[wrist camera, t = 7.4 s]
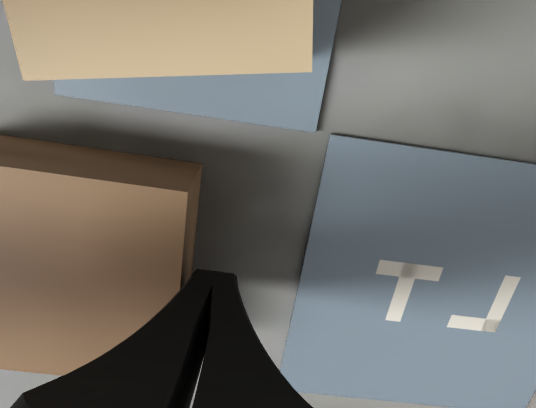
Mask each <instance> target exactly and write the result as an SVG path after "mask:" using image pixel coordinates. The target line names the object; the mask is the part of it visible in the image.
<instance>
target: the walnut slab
mask: <svg viewBox="0 0 536 408" xmlns="http://www.w3.org/2000/svg"><path fill="white" fill-rule="evenodd" d="M201 173H202V164H200V163H193V162H186V161H179V160H173V159H166V158H159V157H152V156H145V155H138V154H131V153H124V152H117V151H110V150H104V149H97V148H90V147H83V146H76V145H69V144H62V143H55V142H48V141H41V140H34V139H28V138H21V137H14V136H7V135H0V369H4V370H14V371H24V372H33V373H43V374H53V375H62V376H63V375H65V374H68V373H70V372H72V371H74V370H76V369H77V368H79V367H81V366H83V365H85V364H87V363H89V362H91V361H92V360H94V359H96V358H98V357H100V356H101V355H103V354H104V353H106V352H108V351H109V350H111V349H112V348H114V347H115V346H116V345H118V344H119V343H121V342H122V341H124V340H125V339H127V338H128V337H129V336H131V335H132V334H133V333H135V332H136V331H137V330H138V329H140V328H141V327H142V326H143V325H145V324H146V323H147V322H148V321H149V320H150V319H151V318H153V317H154V316H155V315H156V314H157V313H158V312H159V311H160V310H161V309H162V308H163V307H164V306H165V305H166V304H167V303H168V302H169V301H170V300H171V299H172V298H173V297H174V296H175V295H176V294H177V293H178V292H179V290H180V289H181V288H182V287H183V286H184V285H185V283H186V282H187V281H188V279H189V278H190V277H191V275H192V269H193V258H194V248H195V237H196V226H197V216H198V205H199V195H200V184H201Z"/></svg>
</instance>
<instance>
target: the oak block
mask: <svg viewBox="0 0 536 408" xmlns="http://www.w3.org/2000/svg"><path fill="white" fill-rule="evenodd" d="M2 1H3V4H4V8H5V12H6V16H7V20H8V24H9V28H10V31H11V35H12V39H13V43H14V47H15V51H16V55H17V58H18V62H19V66H20V70H21V74H22V78H23V81H30V80H64V79H98V78H131V77H165V76H199V75H232V74H266V73H300V72H312V49H313V0H2Z"/></svg>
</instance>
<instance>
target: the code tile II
mask: <svg viewBox="0 0 536 408" xmlns="http://www.w3.org/2000/svg"><path fill="white" fill-rule="evenodd" d="M341 1H342V0H313V49H312V72H300V73H266V74H232V75H199V76H165V77H131V78H98V79H64V80H54V88H55V95H61V96H68V97H75V98H82V99H88V100H95V101H102V102H109V103H116V104H123V105H129V106H136V107H143V108H150V109H157V110H164V111H171V112H177V113H184V114H191V115H198V116H205V117H212V118H218V119H225V120H232V121H239V122H246V123H253V124H260V125H266V126H273V127H280V128H287V129H294V130H301V131H307V132H314V133H316V128H317V123H318V118H319V113H320V108H321V103H322V98H323V93H324V87H325V82H326V77H327V72H328V67H329V62H330V57H331V52H332V47H333V42H334V37H335V31H336V26H337V21H338V16H339V11H340V6H341Z"/></svg>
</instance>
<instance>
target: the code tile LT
mask: <svg viewBox="0 0 536 408" xmlns="http://www.w3.org/2000/svg"><path fill="white" fill-rule="evenodd" d="M280 372H281V373H282V374H283V376H284V377H285V378H286V379H287V381H288V382H289V383H290V384H291V386H292V387H293V388H294V389H295V390H296V391H297V392H302V393H312V394H322V395H332V396H342V397H352V398H362V399H373V400H383V401H393V402H403V403H413V404H423V405H433V406H443V407H454V408H526V406H527V405H528V403H529V401H530V399H531V397H532V396H533V394H534V392H535V390H536V164H533V163H526V162H519V161H512V160H505V159H499V158H492V157H485V156H478V155H471V154H464V153H458V152H451V151H444V150H437V149H430V148H423V147H417V146H410V145H403V144H396V143H389V142H382V141H376V140H369V139H362V138H355V137H348V136H341V135H335V134H330V138H329V142H328V147H327V152H326V157H325V161H324V166H323V171H322V176H321V180H320V185H319V190H318V195H317V199H316V204H315V209H314V213H313V218H312V223H311V228H310V232H309V237H308V242H307V247H306V251H305V256H304V261H303V266H302V270H301V275H300V280H299V285H298V289H297V294H296V299H295V303H294V308H293V313H292V318H291V322H290V327H289V332H288V337H287V341H286V346H285V351H284V356H283V360H282V365H281V370H280Z"/></svg>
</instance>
